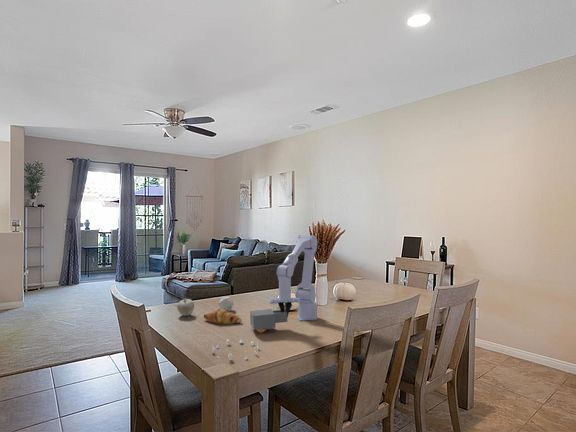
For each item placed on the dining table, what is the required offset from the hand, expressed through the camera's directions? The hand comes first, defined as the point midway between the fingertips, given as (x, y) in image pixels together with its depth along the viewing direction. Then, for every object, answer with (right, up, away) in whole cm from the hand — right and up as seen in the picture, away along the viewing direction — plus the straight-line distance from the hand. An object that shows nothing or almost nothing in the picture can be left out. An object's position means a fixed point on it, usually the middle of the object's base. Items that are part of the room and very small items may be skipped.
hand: (284, 318), depth 168 cm
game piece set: (-19, -6, -27) cm, 34 cm away
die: (-34, -5, +32) cm, 47 cm away
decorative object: (-54, -5, +22) cm, 59 cm away
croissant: (-32, -6, +11) cm, 34 cm away
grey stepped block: (-7, -3, -2) cm, 8 cm away
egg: (-11, -3, -5) cm, 12 cm away
